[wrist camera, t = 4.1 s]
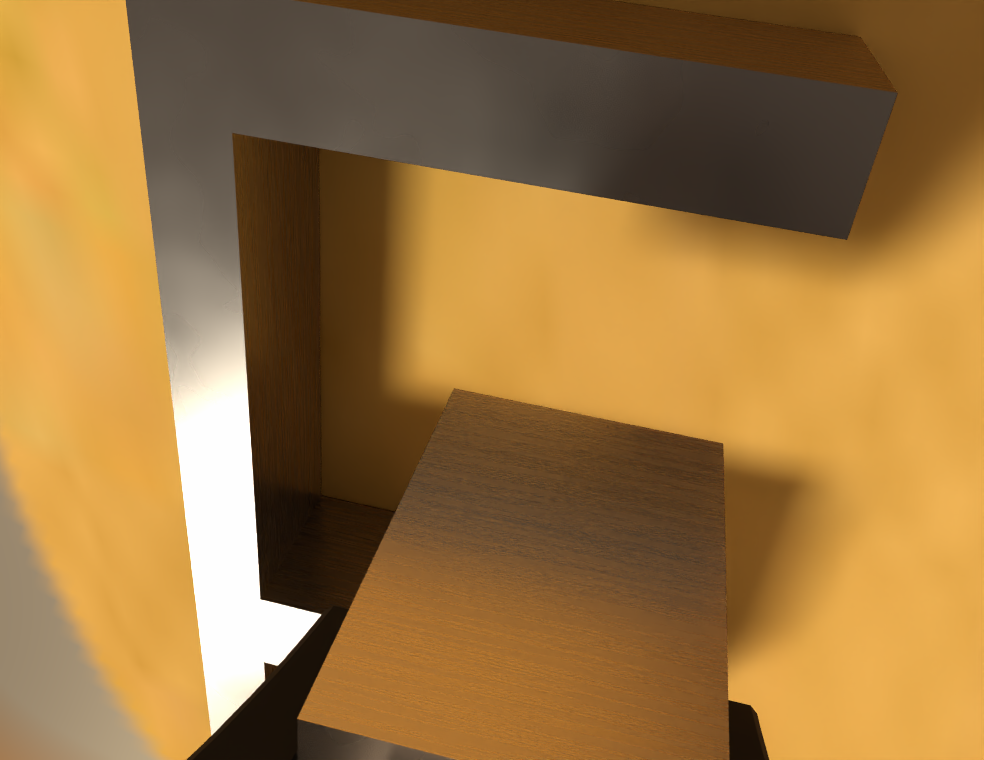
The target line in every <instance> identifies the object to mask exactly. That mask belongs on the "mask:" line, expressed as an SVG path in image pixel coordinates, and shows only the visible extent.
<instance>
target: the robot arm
mask: <svg viewBox="0 0 984 760" xmlns="http://www.w3.org/2000/svg"><path fill="white" fill-rule="evenodd" d="M348 611H349V609H345V608H341V607H337V606H332V607H330V608H328V609H326V610H325V611H324V612H323V613H322V614H321V616H320V617H319V618H318V619H317V621H316V622H315V623H314V624H313V626H312V627H311V628H310V629H309V630H308V632H307V633H306V634H305V635H304V636H303V638H302V639H301V640H300V641H299V642H298V644H297V645H296V646H295V647H294V648H293V649H292V651H291V652H290V653H289V654H288V655H287V656H286V657H285V659H284V660H283V661H282V662H281V663H280V664H279V665H278V666H277V667H276V669H275V670H274V671H273V672H272V673H271V674H270V675H269V676H268V677H267V678H266V680H265V681H264V682H263V683H262V684H261V685H260V686H259V687H258V688H257V689H256V690H255V692H254V693H253V694H252V695H251V696H250V697H249V698H248V699H247V700H246V701H245V702H244V703H243V704H242V705H241V706H240V707H239V708H238V709H237V710H236V711H235V712H234V713H233V714H232V715H231V716H230V717H229V718H228V719H227V720H226V721H225V722H224V723H223V724H222V725H221V726H220V728H219V729H218V730H217V731H216V732H215V733H214V734H213V735H212V736H211V737H210V738H209V739H208V740H207V741H206V742H205V743H204V744H203V745H202V746H201V747H199V748H198V749H197V750H196V751H195V752H194V753H193V754H192V755H191V756H190V757H189V758H188V759H187V760H298V743H297V718H298V716H299V714H300V712H301V709H302V707H303V705H304V703H305V701H306V699H307V697H308V695H309V693H310V691H311V688H312V686H313V684H314V682H315V680H316V678H317V676H318V674H319V672H320V670H321V667H322V665H323V663H324V661H325V659H326V657H327V655H328V653H329V651H330V648H331V646H332V644H333V642H334V640H335V638H336V636H337V634H338V632H339V630H340V627H341V625H342V623H343V621H344V619H345V617H346V615H347V613H348ZM728 711H729V760H769V757H768V754H767V750H766V746H765V743H764V739H763V736H762V732H761V728H760V724H759V720H758V716H757V713H756V712H755V711H754V709H753V708H752V707H751V705H746V704H742V703H738V702H734V701H730V700H728Z"/></svg>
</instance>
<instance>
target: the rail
mask: <svg viewBox="0 0 984 760" xmlns="http://www.w3.org/2000/svg"><path fill="white" fill-rule="evenodd" d="M126 7H127V16H128V24H129V33H130V42H131V50H132V59H133V67H134V76H135V84H136V93H137V101H138V110H139V119H140V127H141V136H142V144H143V153H144V161H145V170H146V179H147V187H148V196H149V204H150V213H151V221H152V230H153V239H154V247H155V256H156V264H157V273H158V281H159V290H160V299H161V307H162V316H163V324H164V333H165V341H166V350H167V359H168V367H169V376H170V384H171V393H172V401H173V410H174V419H175V427H176V436H177V444H178V453H179V461H180V470H181V479H182V487H183V496H184V504H185V513H186V521H187V530H188V538H189V547H190V556H191V564H192V573H193V581H194V590H195V598H196V607H197V616H198V624H199V633H200V641H201V650H202V658H203V667H204V676H205V684H206V693H207V701H208V710H209V718H210V727H211V736H212V735H213V734H214V733H215V732H216V731H217V730H218V729H219V728H220V726H221V725H222V724H223V723H224V722H225V721H226V720H227V719H228V718H229V717H230V716H231V715H232V714H233V713H234V712H235V711H236V710H237V709H238V708H239V707H240V706H241V705H242V704H243V703H244V702H245V701H246V700H247V699H248V698H249V697H250V696H251V695H252V694H253V693H254V692H255V690H256V689H257V688H258V687H259V686H260V685H261V684H262V683H263V682H264V681H265V680H266V678H267V677H268V676H269V675H270V674H271V673H272V672H273V671H274V670H275V669H276V667H277V666H278V665H279V664H280V663H281V662H282V661H283V660H284V659H285V657H286V656H287V655H288V654H289V653H290V652H291V651H292V649H293V648H294V647H295V646H296V645H297V644H298V642H299V641H300V640H301V639H302V638H303V636H304V635H305V634H306V633H307V632H308V630H309V629H310V628H311V627H312V626H313V624H314V623H315V622H316V621H317V619H318V618H319V617H320V616H321V614H322V613H323V612H324V611H325V610H326V609H328V608H330V607H332V606H337V607H341V608H345V609H349V608H350V606H351V604H352V602H353V600H354V598H355V596H356V594H357V592H358V590H359V587H360V585H361V583H362V581H363V579H364V577H365V575H366V573H367V571H368V569H369V566H370V564H371V562H372V560H373V558H374V556H375V554H376V552H377V550H378V547H379V545H380V543H381V541H382V539H383V537H384V535H385V533H386V531H387V529H388V526H389V524H390V522H391V520H392V518H393V516H394V514H395V512H392V511H387V510H383V509H379V508H374V507H370V506H365V505H361V504H356V503H352V502H347V501H343V500H338V499H334V498H329V497H325V496H321V371H320V205H319V148H322V149H328V150H333V151H339V152H345V153H351V154H356V155H362V156H368V157H374V158H379V159H385V160H391V161H397V162H402V163H408V164H414V165H420V166H425V167H431V168H437V169H443V170H448V171H454V172H460V173H466V174H471V175H477V176H483V177H489V178H494V179H500V180H506V181H512V182H517V183H523V184H529V185H535V186H540V187H546V188H552V189H558V190H563V191H569V192H575V193H581V194H586V195H592V196H598V197H604V198H609V199H615V200H621V201H627V202H632V203H638V204H644V205H650V206H655V207H661V208H667V209H673V210H678V211H684V212H690V213H695V214H701V215H707V216H713V217H718V218H724V219H730V220H736V221H741V222H747V223H753V224H759V225H764V226H770V227H776V228H782V229H787V230H793V231H799V232H805V233H810V234H816V235H822V236H828V237H833V238H839V239H845V240H847V238H848V235H849V233H850V230H851V227H852V224H853V221H854V218H855V215H856V212H857V209H858V206H859V204H860V201H861V198H862V195H863V192H864V189H865V186H866V183H867V180H868V178H869V175H870V172H871V169H872V166H873V163H874V160H875V157H876V154H877V151H878V149H879V146H880V143H881V140H882V137H883V134H884V131H885V128H886V125H887V123H888V120H889V117H890V114H891V111H892V108H893V105H894V102H895V99H896V96H897V94H898V93H897V91H896V90H895V88H894V87H893V85H892V84H891V82H890V81H889V79H888V78H887V76H886V75H885V73H884V72H883V70H882V69H881V67H880V66H879V64H878V63H877V61H876V60H875V58H874V57H873V55H872V54H871V52H870V51H869V49H868V48H867V46H866V45H865V43H864V42H863V40H862V39H861V37H857V36H850V35H843V34H836V33H829V32H823V31H816V30H809V29H802V28H795V27H788V26H782V25H775V24H768V23H761V22H754V21H748V20H741V19H734V18H727V17H720V16H713V15H707V14H700V13H693V12H686V11H679V10H672V9H666V8H659V7H652V6H645V5H638V4H631V3H625V2H618V1H611V0H126Z"/></svg>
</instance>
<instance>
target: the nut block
mask: <svg viewBox="0 0 984 760" xmlns="http://www.w3.org/2000/svg"><path fill="white" fill-rule="evenodd" d="M297 743H298V760H729V711H728V660H727V608H726V557H725V506H724V455H723V443H718V442H713V441H708V440H703V439H698V438H693V437H689V436H684V435H679V434H674V433H669V432H664V431H659V430H654V429H649V428H645V427H640V426H635V425H630V424H625V423H620V422H615V421H610V420H605V419H601V418H596V417H591V416H586V415H581V414H576V413H571V412H566V411H561V410H557V409H552V408H547V407H542V406H537V405H532V404H527V403H522V402H517V401H513V400H508V399H503V398H498V397H493V396H488V395H483V394H478V393H473V392H469V391H464V390H459V389H454V390H453V392H452V394H451V396H450V398H449V400H448V402H447V404H446V407H445V409H444V411H443V413H442V415H441V417H440V419H439V421H438V423H437V425H436V428H435V430H434V432H433V434H432V436H431V438H430V440H429V442H428V444H427V446H426V449H425V451H424V453H423V455H422V457H421V459H420V461H419V463H418V465H417V468H416V470H415V472H414V474H413V476H412V478H411V480H410V482H409V484H408V486H407V489H406V491H405V493H404V495H403V497H402V499H401V501H400V503H399V505H398V507H397V510H396V512H395V514H394V516H393V518H392V520H391V522H390V524H389V526H388V529H387V531H386V533H385V535H384V537H383V539H382V541H381V543H380V545H379V547H378V550H377V552H376V554H375V556H374V558H373V560H372V562H371V564H370V566H369V569H368V571H367V573H366V575H365V577H364V579H363V581H362V583H361V585H360V587H359V590H358V592H357V594H356V596H355V598H354V600H353V602H352V604H351V606H350V608H349V611H348V613H347V615H346V617H345V619H344V621H343V623H342V625H341V627H340V630H339V632H338V634H337V636H336V638H335V640H334V642H333V644H332V646H331V648H330V651H329V653H328V655H327V657H326V659H325V661H324V663H323V665H322V667H321V670H320V672H319V674H318V676H317V678H316V680H315V682H314V684H313V686H312V688H311V691H310V693H309V695H308V697H307V699H306V701H305V703H304V705H303V707H302V709H301V712H300V714H299V716H298V718H297Z"/></svg>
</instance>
